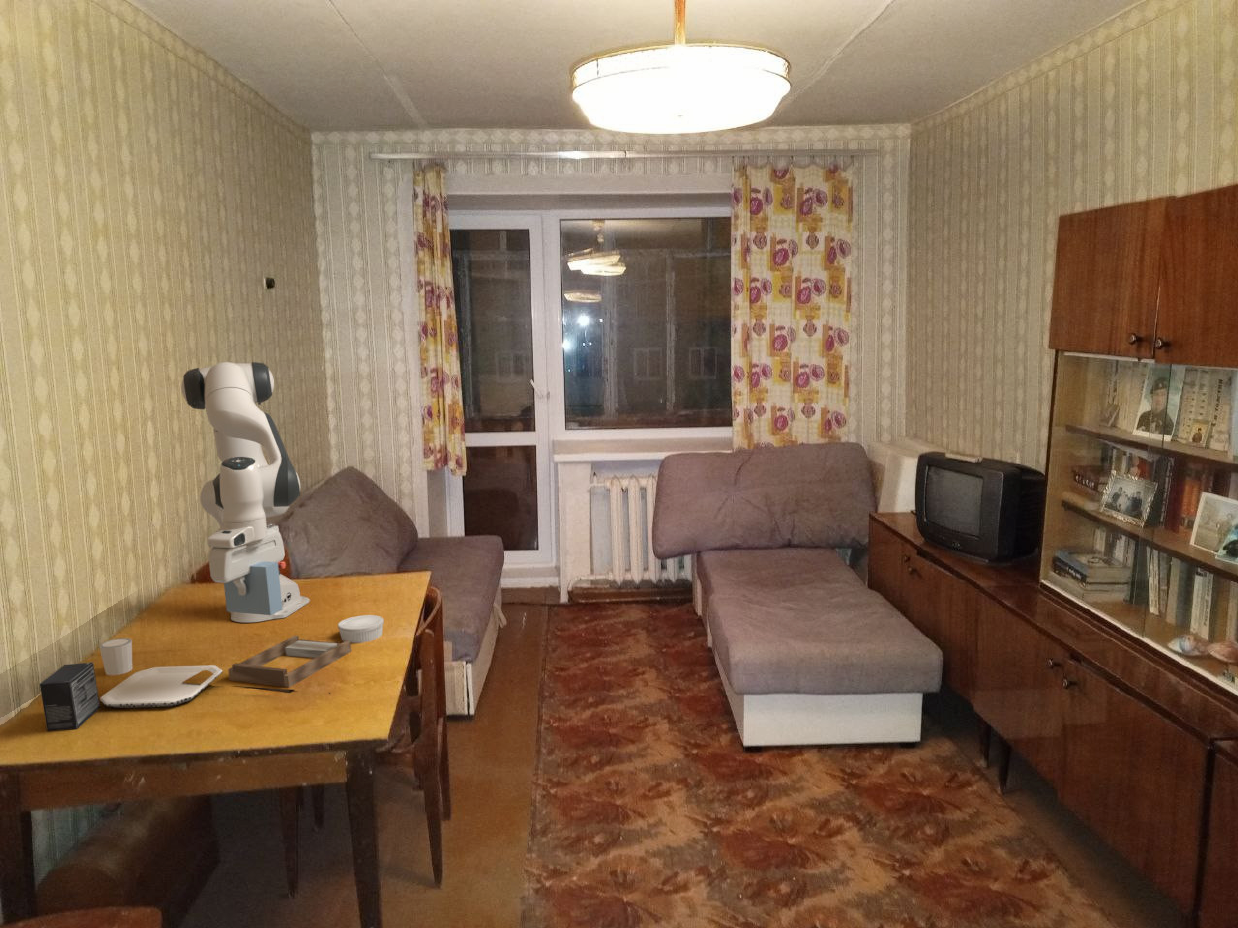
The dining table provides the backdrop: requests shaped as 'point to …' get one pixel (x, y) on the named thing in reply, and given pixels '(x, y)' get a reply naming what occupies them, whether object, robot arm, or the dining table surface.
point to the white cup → (117, 656)
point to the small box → (70, 696)
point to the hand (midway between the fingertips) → (252, 590)
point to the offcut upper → (308, 648)
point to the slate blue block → (256, 591)
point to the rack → (259, 674)
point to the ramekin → (361, 628)
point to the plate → (158, 687)
